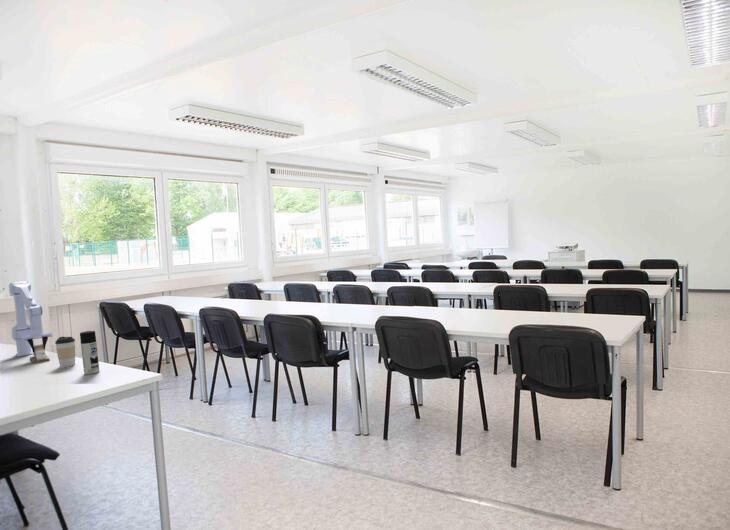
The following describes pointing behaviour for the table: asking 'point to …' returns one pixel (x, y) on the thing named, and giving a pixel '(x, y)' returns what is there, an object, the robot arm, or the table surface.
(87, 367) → the spray can
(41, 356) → the cream blocky elongated piece
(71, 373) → the table surface
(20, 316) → the robot arm
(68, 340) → the coffee cup
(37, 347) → the block
